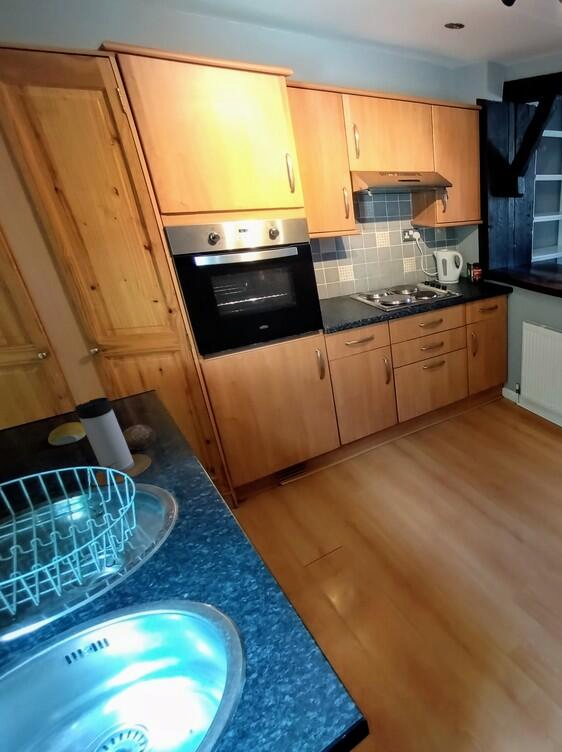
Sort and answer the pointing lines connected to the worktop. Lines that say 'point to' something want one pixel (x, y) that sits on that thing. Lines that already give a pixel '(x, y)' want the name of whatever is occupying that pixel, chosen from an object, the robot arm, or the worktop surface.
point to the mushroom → (139, 437)
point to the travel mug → (105, 434)
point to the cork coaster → (139, 466)
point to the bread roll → (66, 434)
